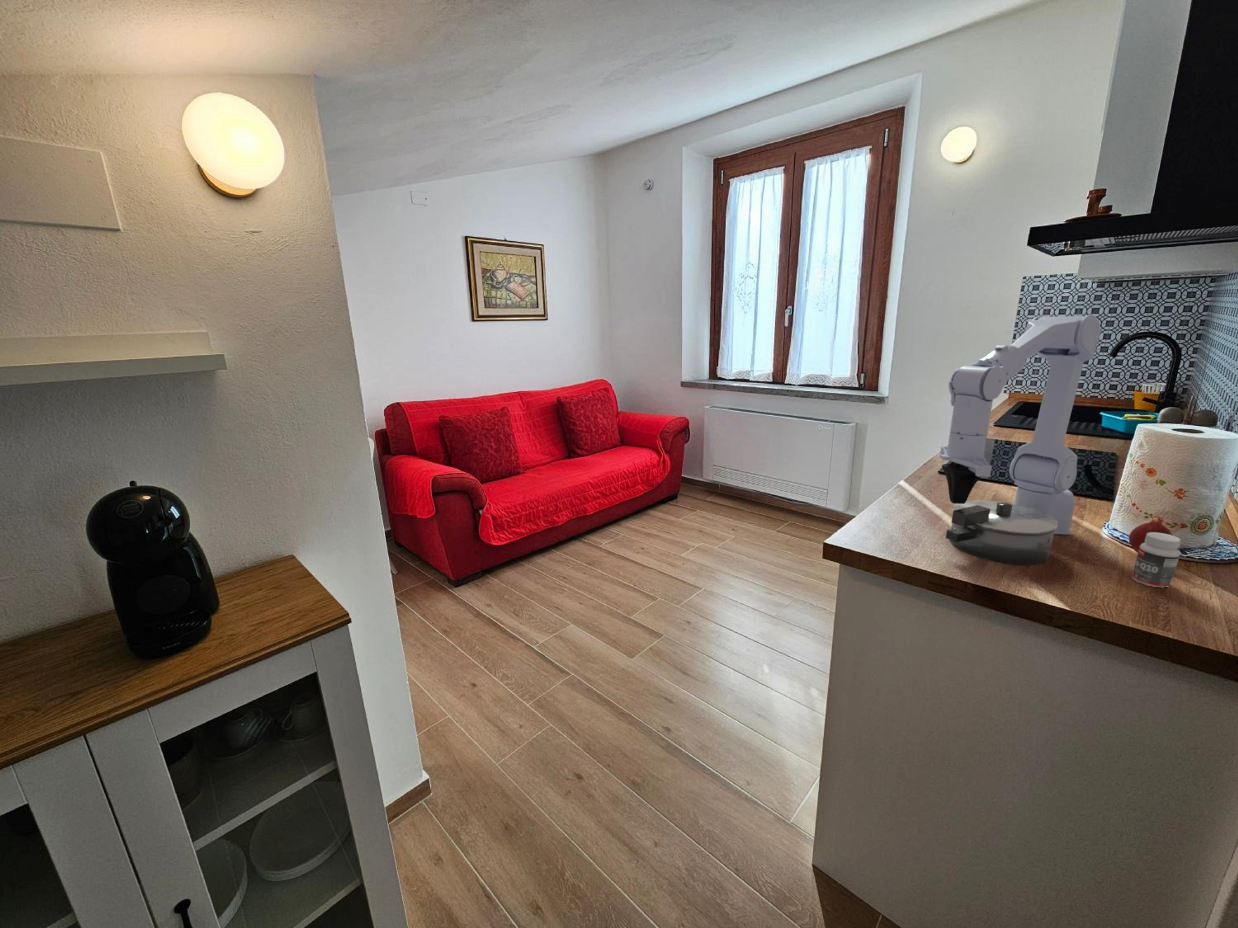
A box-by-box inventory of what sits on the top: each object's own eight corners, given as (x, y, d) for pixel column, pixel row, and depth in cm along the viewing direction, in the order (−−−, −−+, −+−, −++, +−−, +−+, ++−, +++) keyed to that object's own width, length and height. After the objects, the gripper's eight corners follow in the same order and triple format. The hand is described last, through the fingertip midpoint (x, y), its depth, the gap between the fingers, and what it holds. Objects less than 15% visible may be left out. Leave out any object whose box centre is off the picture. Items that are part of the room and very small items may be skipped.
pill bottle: (1123, 576, 91) (1134, 531, 88) (1148, 574, 91) (1160, 530, 89) (1152, 589, 86) (1165, 543, 84) (1178, 588, 86) (1192, 541, 84)
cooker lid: (987, 499, 112) (989, 484, 111) (1077, 525, 97) (1081, 508, 96) (916, 514, 104) (918, 499, 103) (1003, 545, 89) (1006, 528, 89)
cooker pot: (986, 526, 113) (991, 500, 111) (1069, 556, 98) (1075, 526, 97) (912, 541, 106) (916, 514, 105) (989, 575, 92) (995, 544, 90)
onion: (1177, 566, 94) (1189, 525, 91) (1139, 564, 95) (1150, 523, 93) (1152, 553, 99) (1163, 513, 97) (1117, 551, 100) (1126, 512, 98)
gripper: (927, 424, 103) (919, 490, 106) (964, 441, 89) (953, 515, 93) (966, 424, 102) (956, 490, 105) (1009, 441, 88) (996, 516, 92)
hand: (957, 502), depth 99 cm, fingers closed
